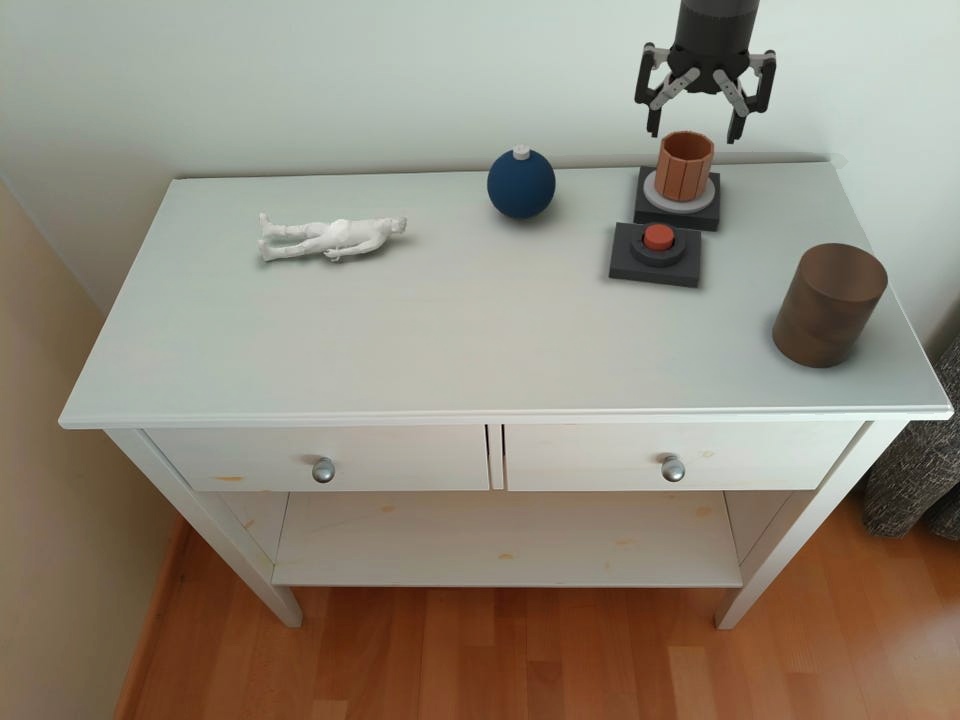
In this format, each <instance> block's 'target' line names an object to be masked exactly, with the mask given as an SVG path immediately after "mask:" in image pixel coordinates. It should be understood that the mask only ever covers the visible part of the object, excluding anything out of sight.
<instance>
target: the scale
mask: <svg viewBox="0 0 960 720" xmlns="http://www.w3.org/2000/svg"><path fill="white" fill-rule="evenodd" d="M656 167H657V166H650V165H649V166H647V165H640V167H639V171H638V172H639V173H638V179H637V186H636V187H637V188H636V194H635V204H634V210H633V219H632V224H640V225H643V224H647V223H651V222H658V223H667V224H669V225H671V226H673V227H675V228H677V229H687V230H696V231H706V232H707V231H708V232H717V229H718V226H719V222H720V215H721V213H720V212H721V211H720V210H721V207H720V206H721V173H720V172H714V171H713V172H712V171H710V172H709V176H708V180H707V184H706V188H705V191H704V193H702V194H701V195H699V196H698V197H697V198H694V199H692V200H688V201H675V200H671V199H668V198H666V197H664V196H663V195H661V194H660V193H659V192H658V190H657V189H656V188H655V187H654V179H655V173H656Z"/></svg>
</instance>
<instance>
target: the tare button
mask: <svg viewBox="0 0 960 720" xmlns="http://www.w3.org/2000/svg"><path fill="white" fill-rule="evenodd" d="M673 237H674V233H673V231H672V230H671V229H670V228H669V227H667V226H665V225H660V224H656V225H652V226H650V227H648V228H647V229H646V231H645V237H644V244H645V245H646V247H647V248H649V249H651V250H653V251H665V250H668V249H669V248H670V247H671V246H672V242H673Z"/></svg>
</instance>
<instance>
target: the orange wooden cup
mask: <svg viewBox="0 0 960 720" xmlns="http://www.w3.org/2000/svg"><path fill="white" fill-rule="evenodd" d="M714 155H715V142H713V141H712V140H711V139H710V138H709V137H707V135H705V134H703V133H699V132H696V131H692V130H679V131H673V132H670V133H668V134H667V135H665V136H664V137H662V138H661V139H660V145H659V151H658V156H657V162H656V166H655V167H656V173H655V179H654V187H655V188H656V189H657V190H658V192H659V193H660V194H661V195H663V196H664V197H666V198H668V199H671V200H675V201H688V200H692V199H694V198H697V197H698V196H699V195H701V194H702V193H704V191H705V188H706V184H707V180H708V176H709V172H711V168H712V163H713V159H714Z"/></svg>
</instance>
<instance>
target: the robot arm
mask: <svg viewBox="0 0 960 720" xmlns="http://www.w3.org/2000/svg"><path fill="white" fill-rule="evenodd" d="M760 2H761V0H680V4H679V10H678V15H677V16H678V18H677V23H676V29H675V36H674V41H673V43H672V45H671V46H670V48H661V47H656V45H655V44H654V42H652V41H648V42H646V43H644V45H643V49H642V53H641V60H640V65H639V68H638V69H639V70H638V75H637V80H636V84H635V90H634V91H635V92H634V98H633V100H634V103H636V104H637V105H642V104H643V105H645V106H647V107H648V114H647V121H646V126H645V127H646V131H647V133H649V134H650V133H651V135H650V137H651V139H652V138H653V139H658V136H659V129H660V124H661V117H662V110H663V106H664V105H665V104H667V103H668V102H669V101H670V100H673V99H674V98H675V97H676V96H678V95H679V94H680V93H681V92H682V91H683V90H684V91H686V93H687V94H701V93H704V94H706V95H712V96H717V94H718V93H721V92H722V93H723V95H724V96H725V98H726V100H727V102H728V103H729V104H730V105H731V106H732V107H733V108H732V111H731V116H730V121H729V125H728V128H727V132H726V145H734V144H735V141H739V140H740V139H741V138H742V137H743V132H744V128H745V124H746V121H747V118H748V116H749V115H750V114H754V113H759V114H764V113H766V112H767V111H768V109H769V104H770V99H771V94H772V90H773V87H774V86H773V85H774V80H775V76H776V71H777V67H778V65H777V53H776V51H775V50H774V49H767V50H766V51H764V53H763V54H761V53H756V54H755V53H750V51H749V47H750V43H751V39H752V34H753V31H754V28H755V27H754V26H755V23H756V18H757V15H758V10H759V6H760ZM665 62H666V64H667V66H668V67H669V69H670V72H669V73H667V75H665V77H664V78H663V80H662V81H661V82H660V83H659V84H658V85H657V86H656V87H655V88H654V89H653V88H651V87H649V83H650V80H651V79H650V78H651V74H652V71H656V70H658V69H660V66H661V65H662V63H665ZM749 68H751V69H752V70H753V74H754V76H755V77H756V78H758V82H757V86H756V90H755V91H756V92H755V94H753V95H749V96H748V94H747V92H746V91H745V89H744V87H743V85H742V82H741V80H740V77H741V76H742V74H744V73H745V72H746V71H747V70H748V69H749Z"/></svg>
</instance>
